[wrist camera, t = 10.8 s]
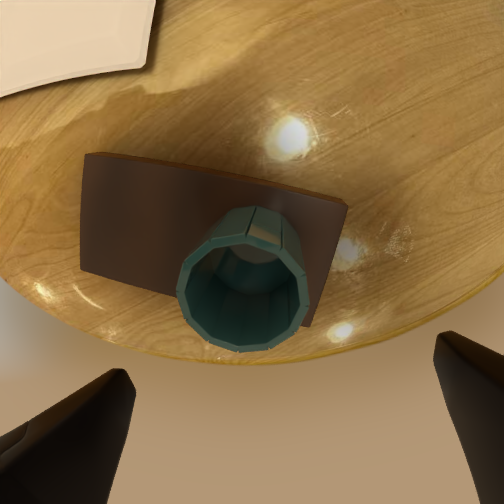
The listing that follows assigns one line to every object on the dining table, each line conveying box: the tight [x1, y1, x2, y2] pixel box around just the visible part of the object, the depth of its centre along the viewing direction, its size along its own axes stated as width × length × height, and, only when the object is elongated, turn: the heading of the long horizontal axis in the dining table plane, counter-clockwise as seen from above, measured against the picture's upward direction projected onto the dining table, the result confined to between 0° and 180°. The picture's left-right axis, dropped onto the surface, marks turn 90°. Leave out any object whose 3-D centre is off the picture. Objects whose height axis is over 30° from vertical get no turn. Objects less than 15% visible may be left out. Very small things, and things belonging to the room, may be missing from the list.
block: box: [80, 152, 348, 327], centre depth 19 cm, size 16×8×2 cm, turn 78°
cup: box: [176, 205, 310, 353], centre depth 15 cm, size 5×5×6 cm
